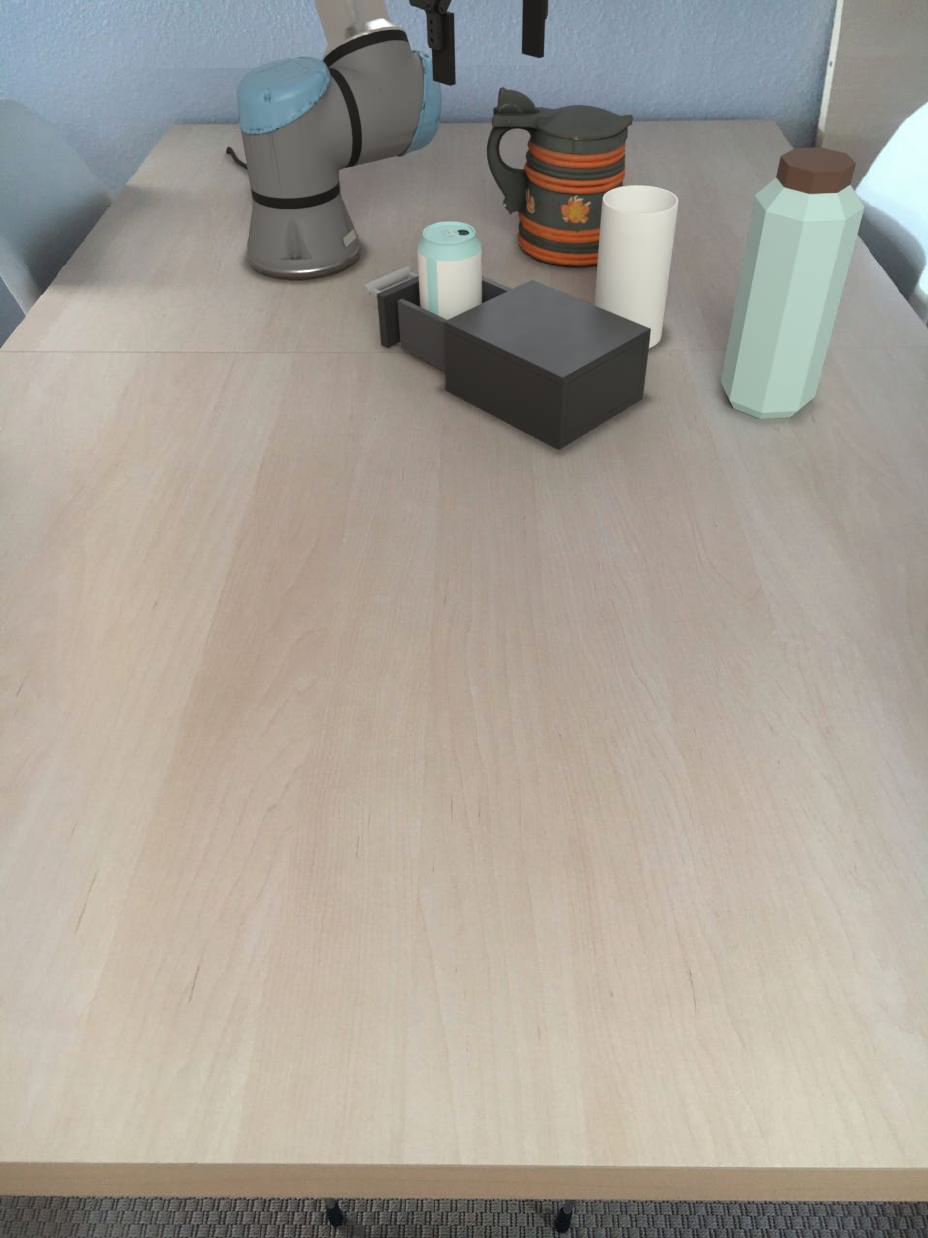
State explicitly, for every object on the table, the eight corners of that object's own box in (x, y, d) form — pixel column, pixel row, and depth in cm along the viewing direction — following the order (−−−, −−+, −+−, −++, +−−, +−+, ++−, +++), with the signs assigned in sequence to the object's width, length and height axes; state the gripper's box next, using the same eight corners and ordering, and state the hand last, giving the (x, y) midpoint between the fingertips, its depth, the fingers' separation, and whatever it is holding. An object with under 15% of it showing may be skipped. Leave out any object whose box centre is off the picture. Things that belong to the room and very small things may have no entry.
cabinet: (445, 390, 110) (443, 321, 104) (530, 346, 117) (532, 279, 111) (558, 450, 101) (562, 378, 96) (642, 398, 108) (651, 328, 102)
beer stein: (487, 270, 132) (487, 108, 118) (486, 225, 143) (486, 72, 129) (630, 268, 132) (646, 105, 118) (618, 223, 142) (632, 69, 128)
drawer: (346, 327, 119) (341, 276, 115) (423, 293, 125) (420, 243, 121) (474, 394, 108) (473, 340, 103) (552, 352, 114) (554, 299, 110)
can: (445, 313, 119) (442, 213, 111) (493, 329, 116) (494, 227, 108) (409, 337, 115) (403, 234, 106) (458, 354, 112) (455, 249, 103)
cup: (659, 354, 115) (676, 216, 104) (588, 348, 116) (598, 211, 105) (663, 320, 121) (680, 186, 110) (596, 315, 122) (606, 182, 111)
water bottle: (816, 383, 110) (877, 146, 92) (808, 430, 103) (872, 184, 86) (725, 369, 112) (768, 136, 95) (711, 415, 105) (755, 172, 88)
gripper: (418, -168, 84) (428, 102, 99) (606, -193, 97) (591, 50, 111) (361, -174, 88) (379, 87, 103) (549, -197, 101) (542, 38, 115)
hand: (489, 68), depth 107 cm, fingers open, 13 cm apart
